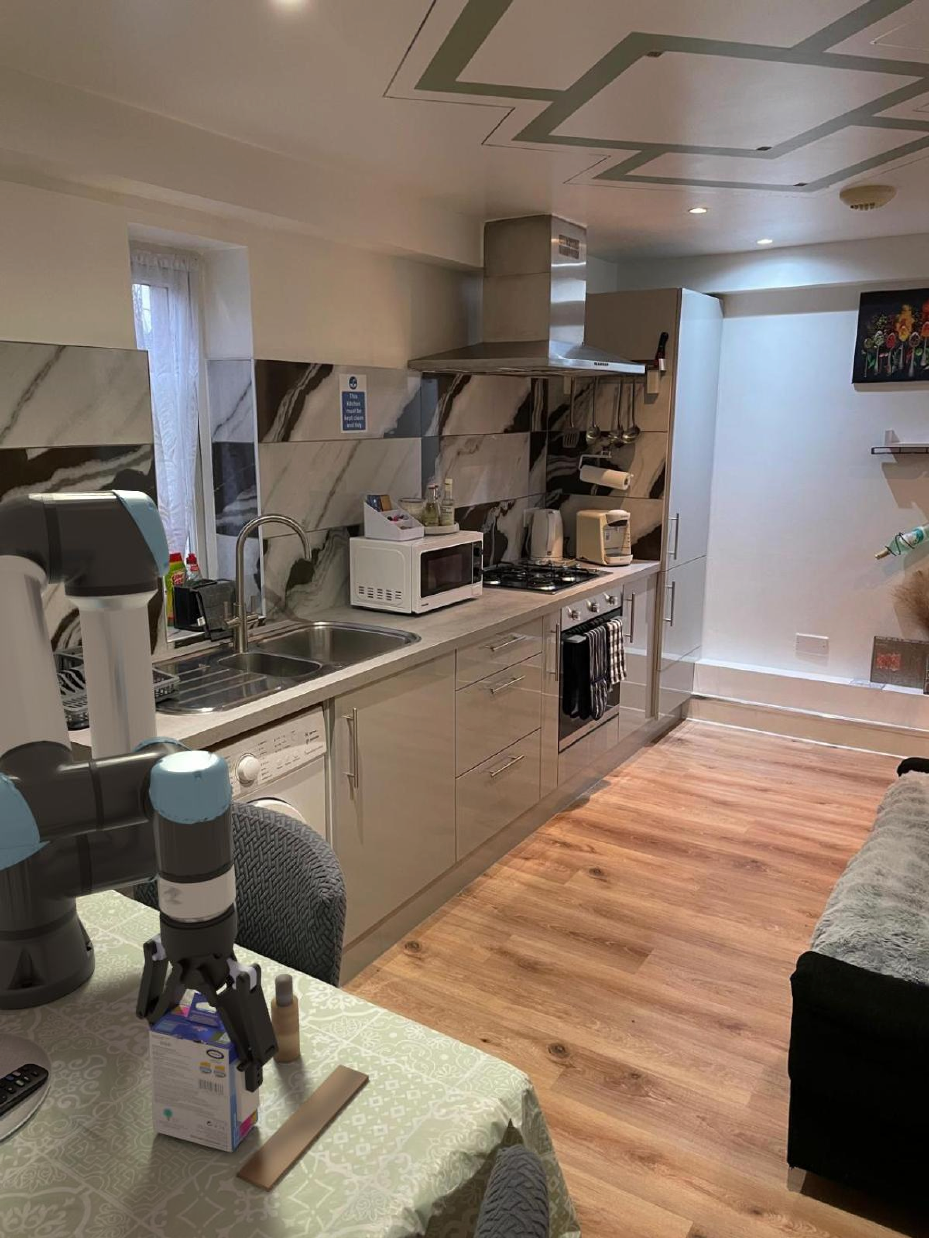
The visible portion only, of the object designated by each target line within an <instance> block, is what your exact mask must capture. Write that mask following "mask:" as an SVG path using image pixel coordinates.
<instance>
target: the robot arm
mask: <svg viewBox="0 0 929 1238" xmlns="http://www.w3.org/2000/svg"><path fill="white" fill-rule="evenodd" d="M169 549H170V548H169V543H168V538H167V534H166V530H165V526H164V523H163V520H162V517H161V515H160V512H159V509H158V507H157V505H156V504H155V502H154V500H153V499H152V497H150V496H149V495H147V494H146V493H145V492H141V491H136V490H135V491H133V490H132V491H131V490H115V489H112V490H97V491H94V490H93V491H72V492H71V491H70V492H69V491H68V492H67V491H66V492H50V493H49V492H47V493H42V492H29V493H24V494H23V493H22V494H18V495H15V496H12V497H9V498H7V499H5V500H3V501H2V502H0V1009H5V1010H6V1009H9V1010H10V1009H12V1010H13V1009H23V1008H30V1007H35V1006H39V1005H42V1004H46V1003H49V1002H52V1001H55V1000H58V999H60V998H62V997H64V996H66V995H68V994H70V993H71V992H72V991H74V990H76V989H78V988H79V987H80V986H81V985H83V984H84V983H85V982H86V981H87V980H88V979H89V978H90V977H91V975H92V974H93V972H94V970H95V966H96V957H95V947H94V944H93V941H92V940H91V937H90V936H89V934H88V932H87V929H86V928H85V927H84V926H85V925H84V924H83V922H82V920H81V918H80V916H79V914H78V910H77V900H76V899H77V898H81V897H86V896H89V895H93V894H98V893H99V894H100V893H103V892H104V893H105V892H107V891H111V890H112V891H113V890H116V889H120V888H127V887H130V886H135V885H139V884H143V883H147V884H149V883H153V882H154V881H156V880H157V893H158V895H157V896H158V907H159V910H160V911H159V916H158V918H159V919H158V920H159V929H160V931H159V933H157V934H156V935H154V936H153V937H151V938H150V939H147V941H145V942H144V943H143V944H142V949H143V957H144V962H143V963H144V964H143V970H142V975H141V980H140V987H139V990H138V991H139V993H138V998H137V1002H136V1007H135V1008H136V1009H135V1015H136V1017H137V1019H139V1020H144V1019H145V1020H146V1021H148V1027H149V1029H151V1028H152V1027H153V1026H154V1025H155V1024H156V1023H157V1022H158V1021H159V1020H160V1019H161V1018H162V1017H163V1016H164V1015H165V1014H166V1013H168V1012H169V1011H170V1010H172V1009H173V1008H174V1007H176V1006H177V1005H179V1004H181V1001H182V999H183V998H184V995H185V994H186V992H187V990H190V991H191V990H192V991H195V992H197V993H200V994H203V995H205V997H206V999H207V1001H208V1005H209V1007H210V1008H215V1011H217V1013H218V1015H219V1017H220V1019H221V1021H222V1024H223V1026H224V1028H225V1030H226V1032H227V1034H228V1036H229V1039H230V1041H231V1042H232V1043H234V1048H235V1051H236V1054H237V1056H238V1058H239V1061H238V1062H237V1063H236V1064H235V1065H234V1067H235V1089H236V1106H237V1120H238V1121H240V1122H242V1123H243V1122H244V1121H245V1120H246V1119H247V1118H248V1117H249V1116H250V1115H251V1114H252V1113H253V1112H254V1111H255V1110H256V1109H257V1108H258V1109H259V1107H260V1106H261V1105H260V1104H261V1103H260V1102H261V1101H260V1087H261V1086H262V1085H263V1082H264V1073H263V1071H264V1069H263V1067H264V1066H265V1065H266V1064H267V1063H268V1062H269V1061H271V1060H272V1058H273V1057H274V1056H275V1054H277V1053H278V1051H279V1048H278V1044H277V1040H276V1037H275V1033H274V1030H273V1026H272V1022H271V1014H270V1012H269V1011H270V1010H269V1008H268V1005H267V1000H266V997H265V993H264V991H263V987H262V967H261V965H260V963H257V962H254V963H252V964H250V965H248V966H247V965H245V964H243V963H240V962H238V957H237V956H236V953H235V951H234V945H235V941H236V939H237V936H238V935H237V934H238V917H237V916H238V915H237V914H238V913H237V903H236V897H237V889H236V888H237V887H236V879H235V878H236V877H235V876H236V874H235V861H234V859H235V858H234V835H233V810H232V799H233V794H234V793H233V786H232V784H231V779H230V771H229V765H228V762H227V761H226V759H225V758H224V757H222V756H221V755H220V754H218V753H211V752H210V751H206V750H192V749H191V748H189V747H188V746H186V745H184V744H183V743H182V742H181V741H179V740H177V739H176V738H175V739H174V738H172V737H168V736H158V727H157V726H158V725H157V715H156V714H157V713H156V711H157V710H156V701H155V691H154V690H155V689H154V686H155V685H154V675H153V674H154V673H153V663H152V662H153V661H152V650H151V636H150V624H149V622H150V621H149V609H148V605H149V601H150V600H151V599H152V598H153V597H154V596H155V595H156V594H157V593H158V591H159V588H158V587H159V585H158V578H163V577H164V576H166V575H168V574H169V571H170V566H171V565H170V550H169ZM55 584H63V586H64V596H65V598H66V599H67V600H68V601H70V602H71V603H72V604H73V605H75V606H76V607H77V609H78V611H79V612H78V613H79V622H80V633H81V644H82V645H81V647H82V655H83V669H84V680H85V690H86V700H87V702H86V703H87V711H88V721H89V722H88V723H89V734H90V745H91V756H92V758H89V759H85V760H76V761H75V760H74V755H73V749H72V744H71V739H70V734H69V728H68V724H67V719H66V714H65V713H66V712H65V707H64V705H63V704H64V702H63V699H62V694H61V688H60V684H59V683H60V682H59V678H58V674H57V667H56V663H55V657H54V653H53V647H52V642H51V639H50V638H51V637H50V633H49V627H48V622H47V617H46V612H45V607H44V602H43V596H44V595H45V594H46V592H47V589H48V585H55ZM169 963H170V966H171V971H170V974H169V976H168V978H167V980H166V977H167V973H168V967H169ZM225 985H226V986H225ZM224 986H225V987H224ZM223 987H224V989H222V991H220V992H219V993H218V991H219V990H221V988H223ZM249 1048H251V1049H250V1050H249Z"/></svg>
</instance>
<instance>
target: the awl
mask: <svg viewBox="0 0 929 1238" xmlns="http://www.w3.org/2000/svg"><path fill="white" fill-rule="evenodd" d="M274 984H275V985H274V988H275V990H274V991H275V996H274V997H273V998H272V999H271V1001H270V1019H271V1022H272V1026H273V1030H274V1033H275V1037H276V1040H277V1044H278V1048H279V1051H278V1053H277V1054H275V1056H274V1057H272V1058H273V1061H275V1062H277V1063H279V1064H280V1063H281V1064H288V1063H291V1062H294V1061H296V1060H297V1059H298V1058H299V1057H300V1055H301V1047H300V1046H301V1043H300V1010H299V998H298V996H296V995H295V994H294V989H293V988H294V987H293V985H294V984H293V976H292V975H291V974H289V973H281V974H279V975H277V976H276V977H275V978H274Z"/></svg>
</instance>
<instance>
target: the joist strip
mask: <svg viewBox="0 0 929 1238" xmlns="http://www.w3.org/2000/svg"><path fill="white" fill-rule="evenodd" d="M369 1078H370V1075H369V1074H366V1073H363V1072H361V1071H358V1070H355V1069H352V1068H350V1067H348V1066H345V1065H343V1064H339V1065H338V1066H337V1067H335V1069H333V1070H332V1072H331V1073H330V1074H329V1075H328V1076H327V1077H326V1078H325V1079H324V1080H323V1081H322V1083H320V1085H319V1086H318V1087H317V1088H316V1089H315V1090H314V1091H313V1092H312V1093H311V1094H310V1095H309V1097H307V1098H306V1099H305V1100H304V1101H303V1102H302V1103H301V1104H300V1105H299V1106H298V1108H297V1109H296V1110H295V1111H294V1112H293V1113H292V1114H291V1115H290V1116H289V1117H288V1118H287V1120H285V1121H284V1122H283V1123H282V1124H281V1126H280V1127H278V1129H277V1130H276V1131H275V1132H274V1133H273V1134H272V1135H271V1136H270V1137H269V1138H268V1139H267V1140H266V1142H265V1143H264V1144H262V1145H261V1147H259V1148H258V1150H257V1151H256V1152H255V1153H254V1154H253V1155H252V1156H251V1157H250V1158H249V1159H248V1160H247V1161H246V1162H245V1163H244V1164H243V1166H242V1167H241V1168H240V1169H239V1170H238V1171H237V1172H236V1177H237V1178H239V1179H241V1180H243V1181H246V1182H247V1183H250V1184H251V1185H254V1186H256V1187H259V1188H260V1189H262V1190H264V1191H267V1192H269V1191H271V1190H272V1189H273V1187H274V1186H275V1185H276V1184H277V1183H278V1181H279V1180H280V1179H281V1178H283V1176H284V1175H285V1173H287V1172H288V1170H290V1168H291V1167H292V1165H294V1163H295V1162H296V1161H297V1160H298V1159H299V1158H300V1157H301V1156H302V1155H303V1154H304V1152H305V1151H306V1150H307V1148H309V1147H310V1146H311V1144H312V1143H313V1142H314V1141H315V1140H316V1139H317V1138H318V1136H320V1134H321V1133H322V1132H323V1131H324V1130H325V1129H326V1128H327V1126H328V1125H330V1123H331V1122H332V1121H333V1119H334V1118H335V1117H336V1116H337V1115H338V1114H339V1113H340V1112H341V1110H342V1109H343V1108H344V1107H345V1106H346V1105H347V1104H348V1103H349V1101H350V1100H351V1099H352V1098H353V1097H354V1096H355V1095H356V1093H357V1092H359V1090H360V1089H361V1088H362V1087H363V1086H364V1084H366V1082H367V1081H368V1080H369ZM338 1112H339V1113H338Z"/></svg>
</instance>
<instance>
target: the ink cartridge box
mask: <svg viewBox="0 0 929 1238" xmlns="http://www.w3.org/2000/svg"><path fill="white" fill-rule="evenodd" d="M202 1003H205V1004H206V1003H208V1001H207V999H206V997H205V995H203V994H201V993H199V992H197V991H195V992H194V994H193V997H192V999H191V1003H190V1005H189V1004H188V1005H187V1004H182V1003H179V1005H177V1006H176V1007H174V1008H173V1009H172V1010H170V1011H169V1012H168V1013H166V1014H165V1015H164V1016H163V1017H162V1018H161V1019H160V1020H159V1021H158V1022H157V1023H156V1024H155V1025H154V1026H153V1027H152V1028H149V1029H148V1039H149V1044H148V1045H149V1061H150V1081H151V1082H150V1083H151V1102H152V1103H151V1104H152V1105H151V1106H152V1128H153V1129H152V1130H153V1132H155V1133H158V1134H162V1135H166V1136H170V1137H174V1138H177V1139H181V1140H185V1141H188V1142H192V1143H195V1144H199V1145H201V1146H206V1147H210V1148H213V1149H218V1150H221V1151H224V1152H227V1153H233V1152H234V1151H235V1149H237V1147H238V1146H239V1145H240V1144H241V1142H242V1141H243V1140H244V1138H245V1137H246V1136H247V1135H248V1133H249V1132H250V1131H251V1130H252V1129H253V1128H254V1127H255V1125H256V1124H257V1123H258V1121H259V1111H258V1110H259V1107H258V1108H257V1109H256V1110H255V1111H254V1112H253V1113H252V1114H251V1115H250V1116H249V1117H248V1118H247V1119H246V1120H245V1121H244V1122H243V1123H242V1122H240V1121H238V1120H237V1106H236V1089H235V1067H234V1065H235V1064H236V1063H237V1062H238V1061H239V1058H238V1056H237V1054H236V1051H235V1048H234V1043H232V1042H231V1041H230V1039H229V1036H228V1034H227V1032H226V1030H225V1028H224V1026H223V1024H222V1021H221V1019H220V1017H219V1015H218V1013H217V1011H216V1010H211V1009H206V1008H202V1007H201V1008H200V1007H197V1004H202ZM250 1049H251V1048H249V1050H250Z"/></svg>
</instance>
